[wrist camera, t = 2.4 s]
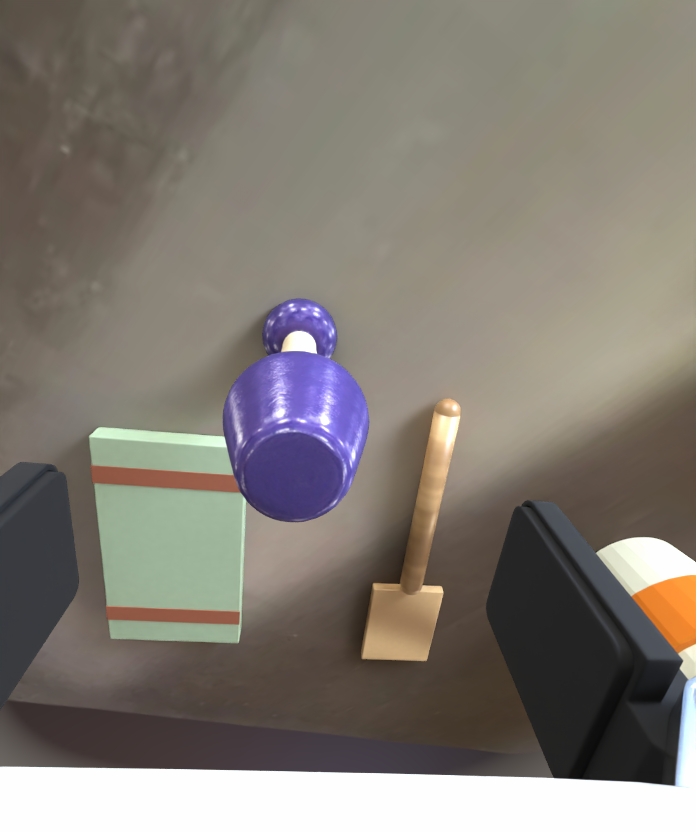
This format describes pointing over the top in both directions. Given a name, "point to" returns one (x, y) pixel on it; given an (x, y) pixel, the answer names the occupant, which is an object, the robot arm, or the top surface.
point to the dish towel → (169, 535)
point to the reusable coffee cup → (659, 589)
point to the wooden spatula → (415, 560)
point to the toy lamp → (295, 418)
